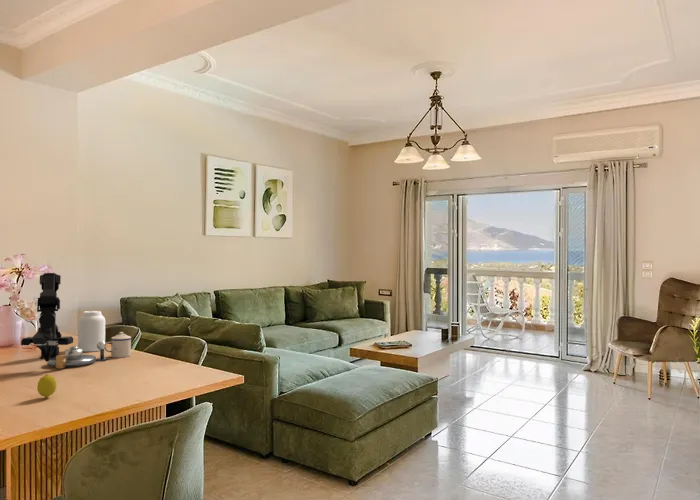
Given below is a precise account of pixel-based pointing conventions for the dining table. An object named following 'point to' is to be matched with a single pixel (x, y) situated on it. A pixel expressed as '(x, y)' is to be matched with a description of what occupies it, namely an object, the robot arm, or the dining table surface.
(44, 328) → the robot arm
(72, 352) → the cover
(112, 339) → the teacup with lid
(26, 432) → the dining table surface
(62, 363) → the platter
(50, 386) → the lemon
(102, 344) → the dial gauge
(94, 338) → the white jar
